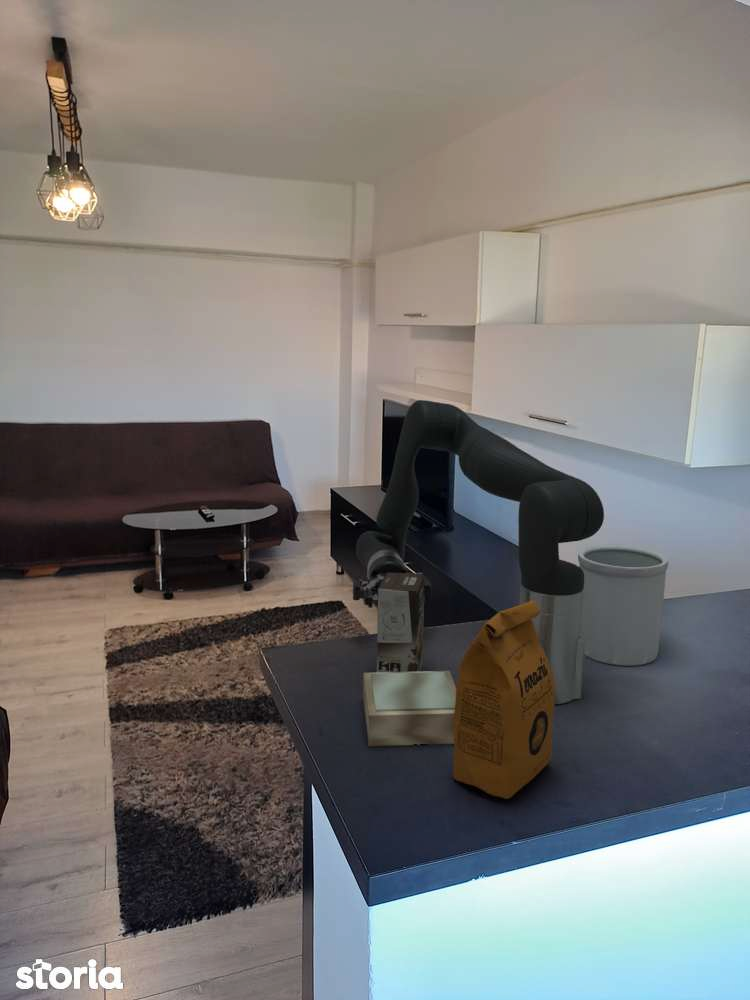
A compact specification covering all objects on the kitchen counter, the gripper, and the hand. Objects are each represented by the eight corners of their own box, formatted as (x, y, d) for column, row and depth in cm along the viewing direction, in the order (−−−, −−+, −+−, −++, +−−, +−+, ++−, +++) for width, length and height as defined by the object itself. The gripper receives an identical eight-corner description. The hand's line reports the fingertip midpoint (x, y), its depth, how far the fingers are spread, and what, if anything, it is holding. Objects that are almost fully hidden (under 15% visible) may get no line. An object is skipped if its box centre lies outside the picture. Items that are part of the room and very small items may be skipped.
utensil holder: (554, 647, 133) (561, 553, 130) (602, 627, 143) (609, 538, 139) (629, 676, 122) (638, 573, 119) (675, 652, 132) (685, 556, 128)
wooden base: (448, 698, 114) (449, 669, 113) (464, 743, 102) (465, 710, 101) (363, 700, 113) (363, 670, 112) (368, 746, 101) (368, 713, 100)
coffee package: (564, 771, 95) (575, 607, 91) (506, 813, 87) (516, 634, 82) (499, 741, 102) (507, 587, 98) (440, 777, 94) (446, 611, 89)
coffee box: (415, 689, 117) (417, 591, 114) (375, 685, 118) (376, 587, 115) (423, 665, 126) (426, 573, 122) (386, 661, 127) (387, 570, 124)
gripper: (350, 555, 145) (354, 582, 129) (424, 554, 146) (436, 580, 130) (350, 592, 146) (354, 623, 130) (423, 591, 147) (435, 621, 131)
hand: (395, 602), depth 130 cm, fingers open, 8 cm apart
